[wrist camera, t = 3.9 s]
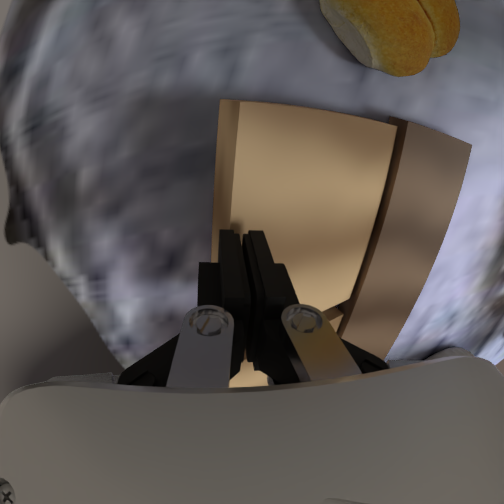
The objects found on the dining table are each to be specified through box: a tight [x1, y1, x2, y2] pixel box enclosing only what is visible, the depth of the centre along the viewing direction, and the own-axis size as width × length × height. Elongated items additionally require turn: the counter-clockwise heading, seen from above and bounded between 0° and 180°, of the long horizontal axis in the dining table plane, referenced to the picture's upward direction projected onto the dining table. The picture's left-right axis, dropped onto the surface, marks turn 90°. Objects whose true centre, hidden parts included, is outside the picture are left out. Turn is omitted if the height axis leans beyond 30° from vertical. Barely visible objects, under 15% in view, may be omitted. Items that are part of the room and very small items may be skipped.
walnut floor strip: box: [336, 116, 472, 360], centre depth 21 cm, size 26×6×2 cm, turn 174°
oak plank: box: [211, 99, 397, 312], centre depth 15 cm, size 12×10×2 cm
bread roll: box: [319, 0, 460, 77], centre depth 9 cm, size 8×9×4 cm
